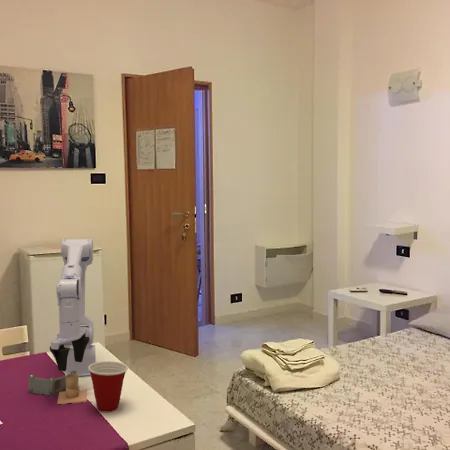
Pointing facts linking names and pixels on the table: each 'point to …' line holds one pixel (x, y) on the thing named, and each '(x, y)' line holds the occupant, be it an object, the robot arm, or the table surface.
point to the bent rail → (47, 385)
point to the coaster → (79, 399)
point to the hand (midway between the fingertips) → (70, 365)
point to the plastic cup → (107, 383)
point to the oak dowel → (72, 386)
